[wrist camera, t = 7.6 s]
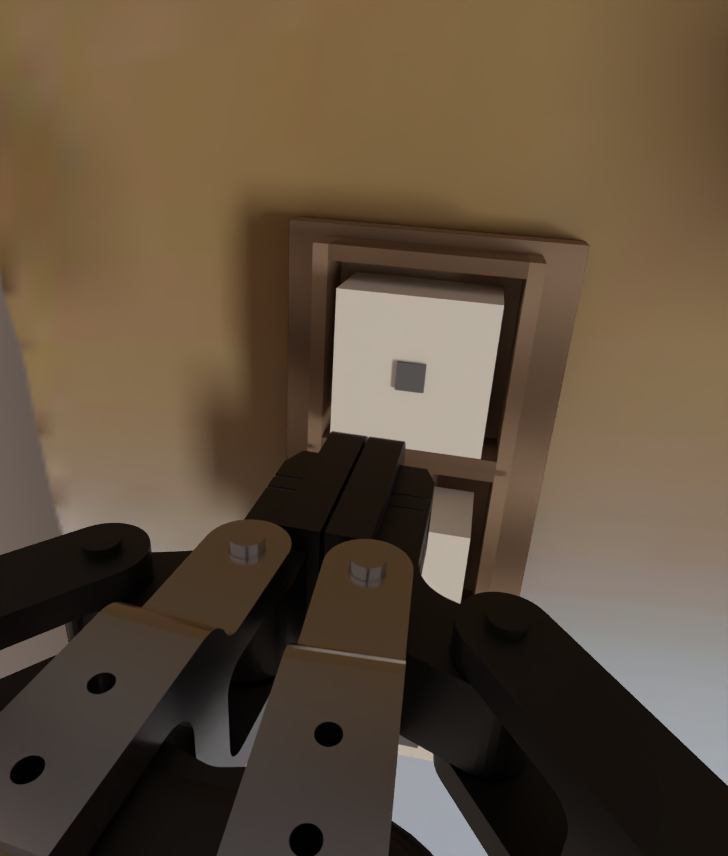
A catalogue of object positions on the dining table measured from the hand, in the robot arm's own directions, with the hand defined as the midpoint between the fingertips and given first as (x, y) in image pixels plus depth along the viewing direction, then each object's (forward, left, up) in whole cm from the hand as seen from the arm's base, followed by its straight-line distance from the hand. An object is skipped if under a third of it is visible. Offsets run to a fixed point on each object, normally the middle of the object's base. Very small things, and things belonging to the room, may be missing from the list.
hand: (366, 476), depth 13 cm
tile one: (0, 0, -10) cm, 10 cm away
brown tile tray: (+7, 0, -12) cm, 14 cm away
